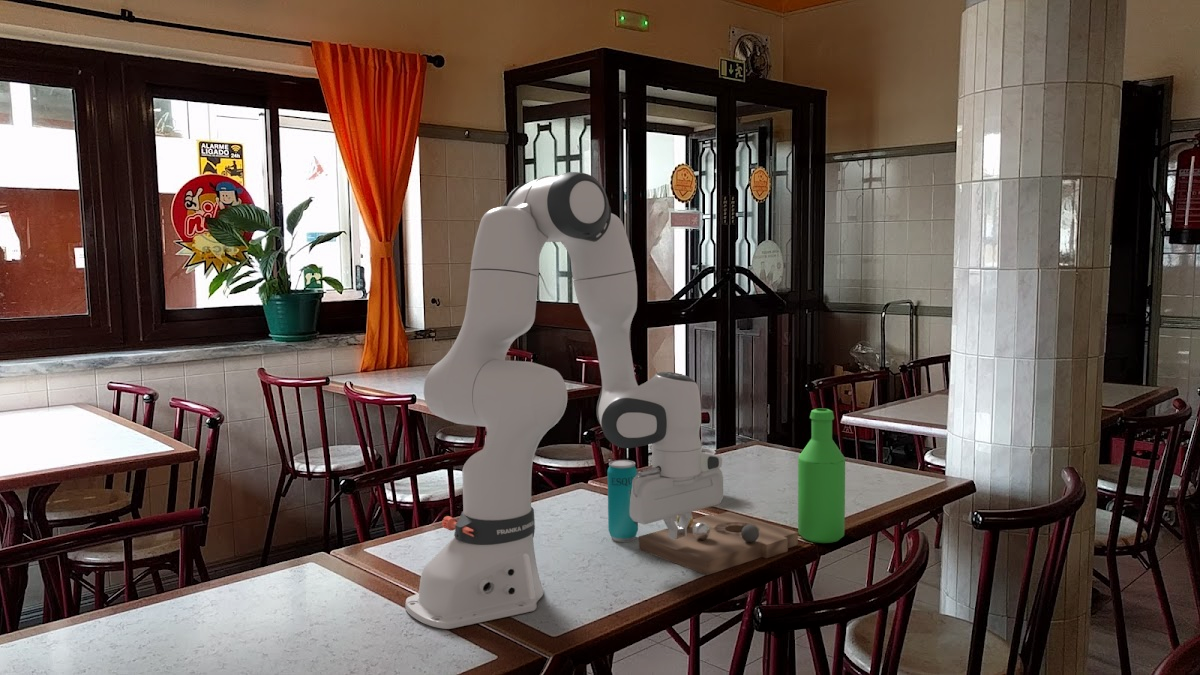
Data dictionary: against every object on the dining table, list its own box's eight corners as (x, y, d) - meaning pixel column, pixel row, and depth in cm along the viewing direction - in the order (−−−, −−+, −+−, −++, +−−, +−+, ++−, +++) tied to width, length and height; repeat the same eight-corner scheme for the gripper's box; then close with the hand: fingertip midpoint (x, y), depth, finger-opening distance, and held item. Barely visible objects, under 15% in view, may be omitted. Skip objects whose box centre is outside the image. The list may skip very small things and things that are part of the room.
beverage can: (635, 543, 176) (634, 466, 174) (606, 542, 177) (604, 466, 175) (640, 534, 181) (639, 459, 180) (611, 533, 182) (610, 459, 181)
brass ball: (684, 531, 174) (684, 515, 174) (673, 527, 177) (673, 511, 177) (696, 528, 176) (696, 511, 176) (685, 524, 179) (685, 508, 179)
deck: (711, 576, 157) (711, 562, 157) (635, 548, 173) (635, 535, 173) (801, 546, 172) (801, 533, 172) (724, 522, 188) (724, 510, 188)
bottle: (852, 536, 178) (854, 409, 175) (830, 547, 171) (831, 415, 169) (812, 527, 184) (813, 404, 181) (789, 538, 177) (789, 410, 175)
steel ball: (701, 543, 167) (701, 526, 167) (689, 539, 170) (689, 522, 170) (713, 539, 169) (713, 522, 169) (701, 535, 172) (701, 518, 172)
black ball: (750, 546, 165) (750, 528, 165) (737, 541, 168) (737, 524, 168) (762, 542, 167) (762, 525, 167) (749, 538, 170) (749, 521, 170)
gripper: (644, 475, 156) (646, 554, 157) (728, 456, 168) (729, 529, 170) (621, 468, 160) (622, 545, 162) (704, 450, 173) (705, 522, 174)
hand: (677, 537), depth 166 cm, fingers closed
